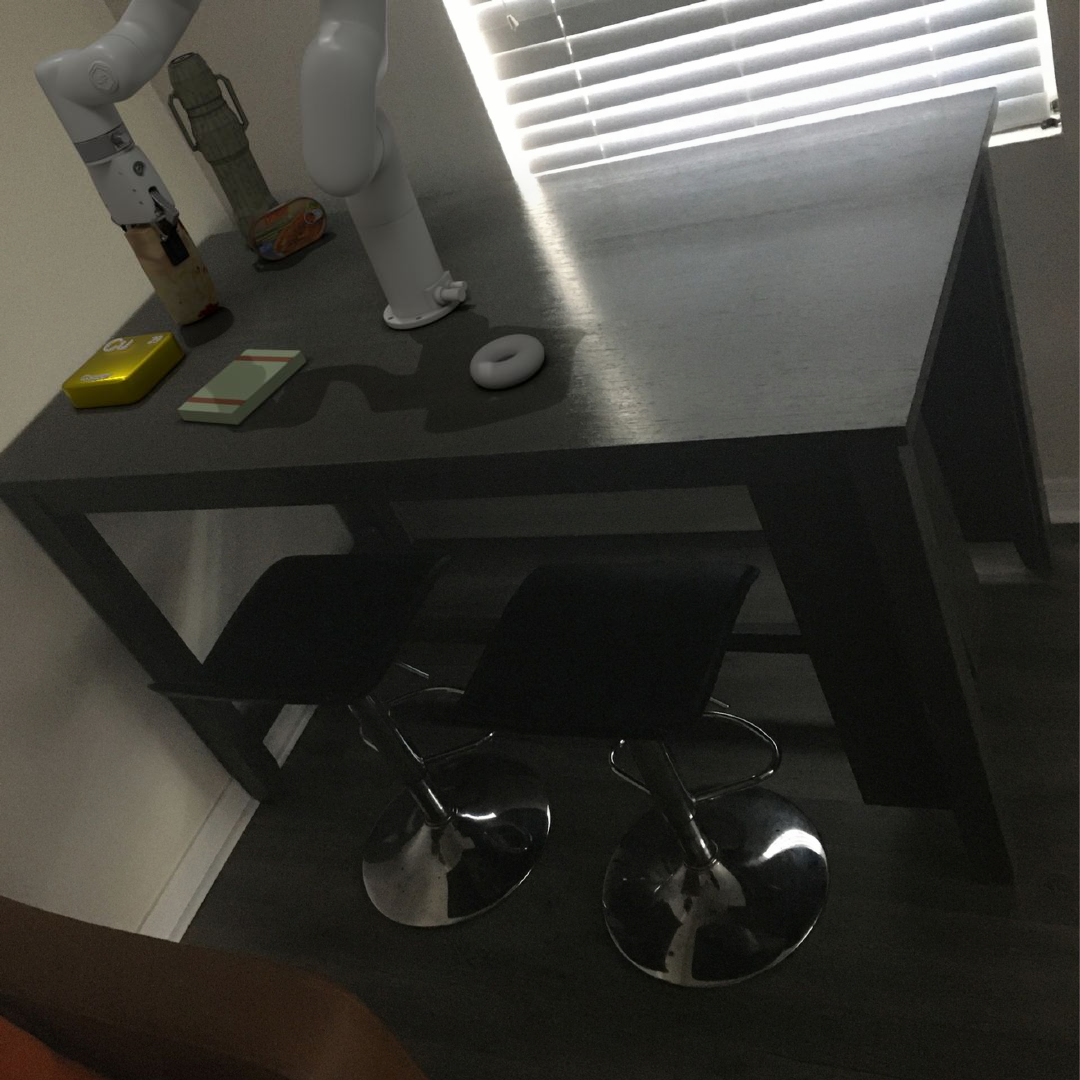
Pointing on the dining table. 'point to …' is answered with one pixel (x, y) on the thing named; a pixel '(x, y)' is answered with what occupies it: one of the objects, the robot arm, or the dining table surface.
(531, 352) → the donut
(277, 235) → the tin
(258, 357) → the towel
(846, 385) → the dining table surface
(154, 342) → the element tile
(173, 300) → the food model
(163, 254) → the block
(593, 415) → the dining table surface
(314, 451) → the dining table surface
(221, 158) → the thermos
